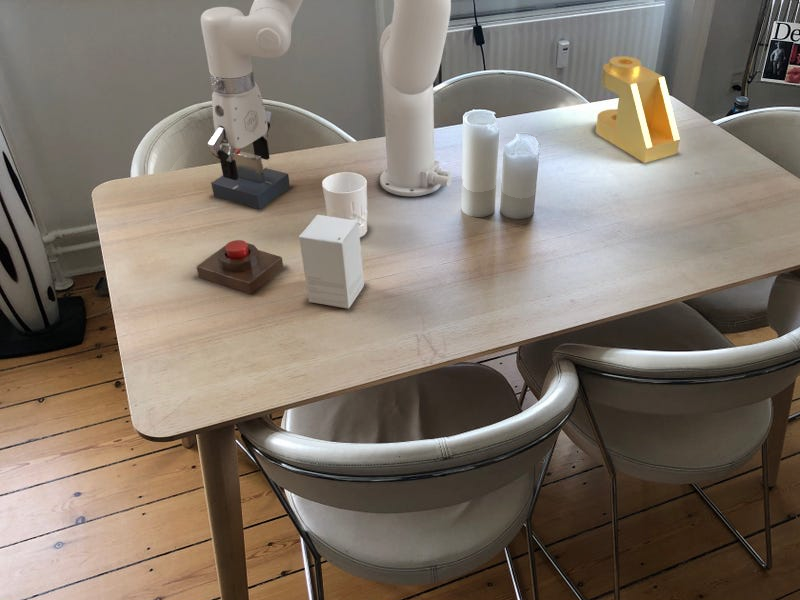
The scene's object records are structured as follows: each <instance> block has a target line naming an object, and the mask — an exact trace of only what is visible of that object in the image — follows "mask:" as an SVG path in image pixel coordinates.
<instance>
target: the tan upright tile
mask: <svg viewBox="0 0 800 600" xmlns="http://www.w3.org/2000/svg"><path fill="white" fill-rule="evenodd" d="M233 160H235V161H236V166H237V172H238V177H241V178H245V179H249V180H252V181H256V182H260V183H261V182H262V181H263V180H265V179H264V173H263V167H264V166H263V161H262V160H263V159H262V158H261V156H258V155H255V154H254V153H250V152H245V151H243V150H241V149H236V150H235V153H234V156H233Z"/></svg>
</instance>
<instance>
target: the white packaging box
mask: <svg viewBox="0 0 800 600" xmlns="http://www.w3.org/2000/svg"><path fill="white" fill-rule="evenodd" d="M298 240H299V247H300V253H301V260H302V265H303V272H304V278H305V287H306V291H307V297H308V302H309V303H313V304H319V305H326V306H331V307H336V308H342V309H347V310H348V309H350V307H351V306H352V305H353V303H354V302H355V301H356V299H357V297H358V296H359V294H360V293H361V291H362V290H363V288H364V286H365V278H364V268H363V258H362V257H363V256H362V248H361V237H359V227H358V221H356V220H349V219H343V218H336V217H329V216H327V215H322V214H317V215H316V216H315V217H314V218H313V219H312V220H311V222H310V223H309V224H308V226H306V228H305V229H304V230H303V231H302V232H301V233H300V234H299V236H298Z"/></svg>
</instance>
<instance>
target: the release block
mask: <svg viewBox="0 0 800 600" xmlns="http://www.w3.org/2000/svg"><path fill="white" fill-rule="evenodd" d="M246 243H247V245H248V250H249V255H248V256H247V257H245V258H242V259H230V258H228V257H227V253H226V248H225V246H226V244H225V245H224V246H222V247H221V248H219V249H218V250H217V251H215V252H213V254H212V255H210V256H209V257H207V258H206V259H205V260H203V261H201V262H200V263H199V264H198V265H196V270H197V275H198V278H201V279H204V280H207V281H210V282H213V283H215V284H219V285H222V286H225V287H228V288H231V289H235V290H237V291H241V292H244V293H247V294H250V295H252V294H253V293H255V292H256V291H257V290H258V289H259V288H260V287H262V286H263V285H264V284H265V283H267V282H268V281H269V280H271V278H273V277H274V276H275V275H276V274H278V273H279V272H280V271H281V270H282V269H283V268H284V263H283V257H282V256H280V255H276V254H273V253H269V252H267V251H263V250H260V249H258V248H257V247H256V245H254V244H252V243H248V242H246Z"/></svg>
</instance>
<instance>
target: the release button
mask: <svg viewBox="0 0 800 600" xmlns="http://www.w3.org/2000/svg"><path fill="white" fill-rule="evenodd" d="M247 243H248V242H246V241H245V240H242V239H235V240H231V241H229V242H227V243H226V244H225V245H226V246H225V245H224V246H225V248H226V253H227V257H228V258H230V259H242V258H245V257H247V256H248V255H249V250H248V245H247Z"/></svg>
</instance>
